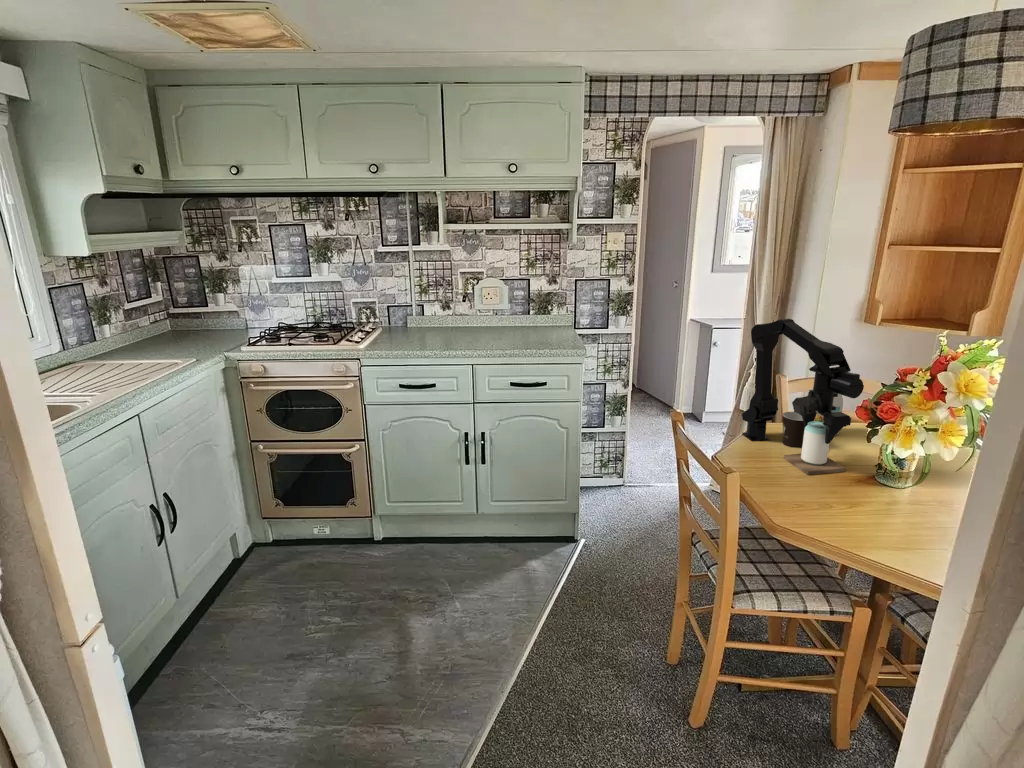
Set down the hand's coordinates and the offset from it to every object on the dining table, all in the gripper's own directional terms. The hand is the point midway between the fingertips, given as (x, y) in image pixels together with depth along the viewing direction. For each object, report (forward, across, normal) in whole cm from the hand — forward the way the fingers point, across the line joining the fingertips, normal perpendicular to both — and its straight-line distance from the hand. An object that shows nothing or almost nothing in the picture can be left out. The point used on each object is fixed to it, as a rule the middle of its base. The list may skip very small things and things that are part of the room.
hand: (817, 437), depth 173 cm
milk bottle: (+9, -23, +21) cm, 32 cm away
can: (+8, 0, 0) cm, 8 cm away
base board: (+9, 0, 0) cm, 9 cm away
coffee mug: (+9, -17, +5) cm, 20 cm away
